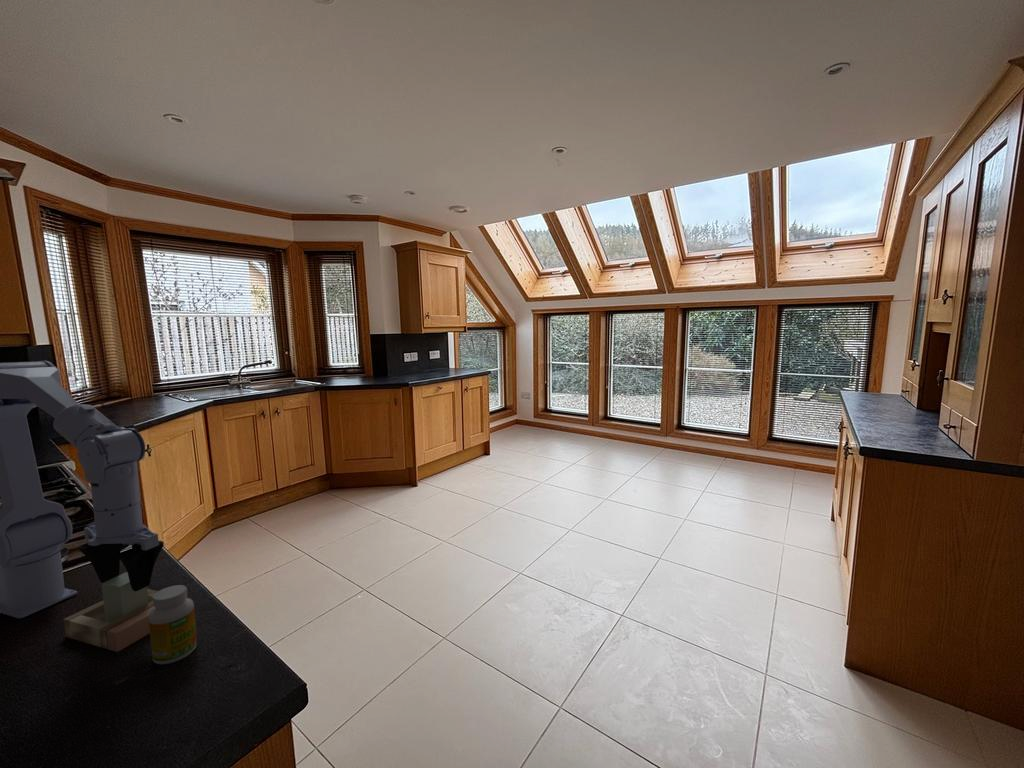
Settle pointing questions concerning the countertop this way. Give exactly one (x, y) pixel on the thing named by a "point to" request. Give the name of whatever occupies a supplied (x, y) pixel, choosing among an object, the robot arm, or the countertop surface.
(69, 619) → the collar block
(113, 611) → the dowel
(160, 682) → the countertop surface
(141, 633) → the stop wall
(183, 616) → the supplement bottle
